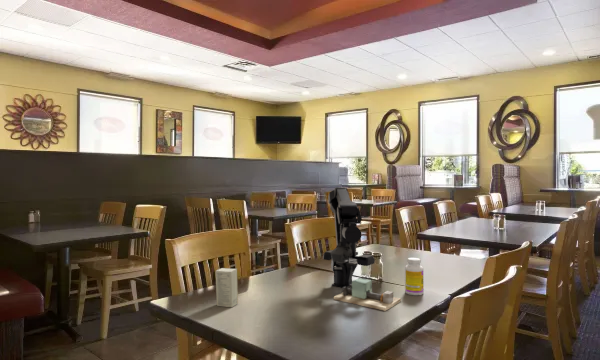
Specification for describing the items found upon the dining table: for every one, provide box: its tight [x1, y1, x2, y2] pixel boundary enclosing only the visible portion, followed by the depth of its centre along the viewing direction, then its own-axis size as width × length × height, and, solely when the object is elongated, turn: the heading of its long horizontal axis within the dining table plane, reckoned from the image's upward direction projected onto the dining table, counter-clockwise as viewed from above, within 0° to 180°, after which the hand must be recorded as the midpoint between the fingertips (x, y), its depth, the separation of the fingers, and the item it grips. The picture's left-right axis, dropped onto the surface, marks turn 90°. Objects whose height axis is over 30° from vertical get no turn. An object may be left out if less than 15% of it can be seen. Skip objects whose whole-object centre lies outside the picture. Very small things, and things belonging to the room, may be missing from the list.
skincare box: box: [215, 267, 239, 308], centre depth 134 cm, size 6×4×12 cm
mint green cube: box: [352, 277, 373, 299], centre depth 139 cm, size 5×5×5 cm
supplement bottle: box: [404, 257, 424, 296], centre depth 146 cm, size 7×7×13 cm
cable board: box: [333, 284, 402, 312], centre depth 138 cm, size 20×12×4 cm, turn 52°
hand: (348, 281), depth 143 cm, fingers closed
